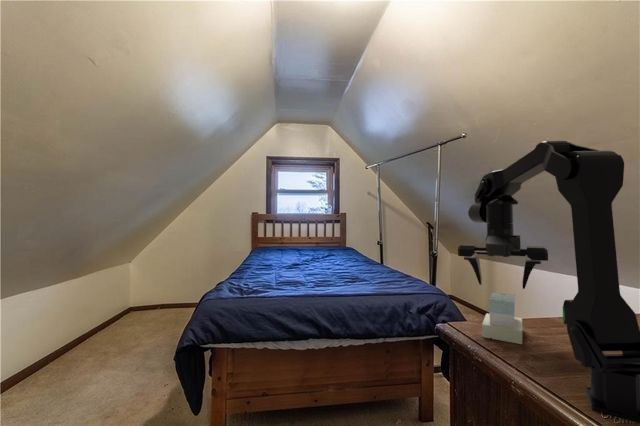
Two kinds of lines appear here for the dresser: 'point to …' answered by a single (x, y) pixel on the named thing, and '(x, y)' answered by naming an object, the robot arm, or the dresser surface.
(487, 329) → the sage stand
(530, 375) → the dresser surface
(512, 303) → the grey-blue rectangular block
